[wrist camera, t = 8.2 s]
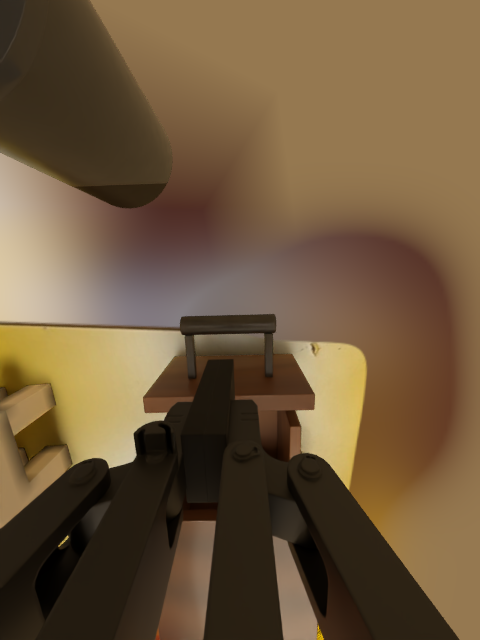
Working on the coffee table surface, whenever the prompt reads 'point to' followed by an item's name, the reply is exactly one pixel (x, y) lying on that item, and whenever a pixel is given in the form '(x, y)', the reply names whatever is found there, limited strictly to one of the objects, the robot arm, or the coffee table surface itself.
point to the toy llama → (11, 462)
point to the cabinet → (194, 576)
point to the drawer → (241, 383)
